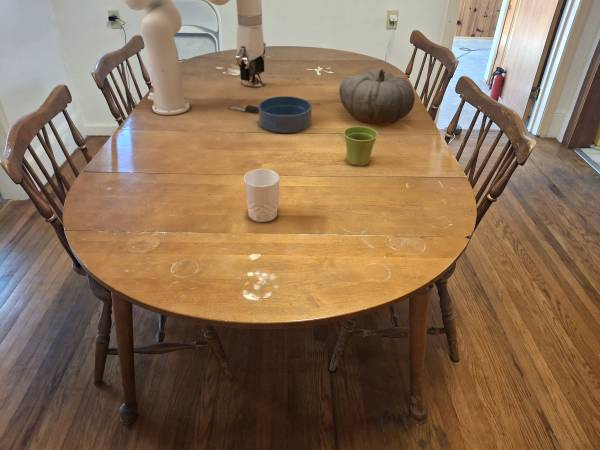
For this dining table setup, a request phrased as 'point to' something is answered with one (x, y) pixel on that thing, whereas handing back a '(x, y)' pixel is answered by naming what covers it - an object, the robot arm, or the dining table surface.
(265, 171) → the white cup
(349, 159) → the plant pot
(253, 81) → the grey tall irregular piece
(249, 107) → the black knife
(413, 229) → the dining table surface
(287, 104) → the bowl
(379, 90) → the gourd
